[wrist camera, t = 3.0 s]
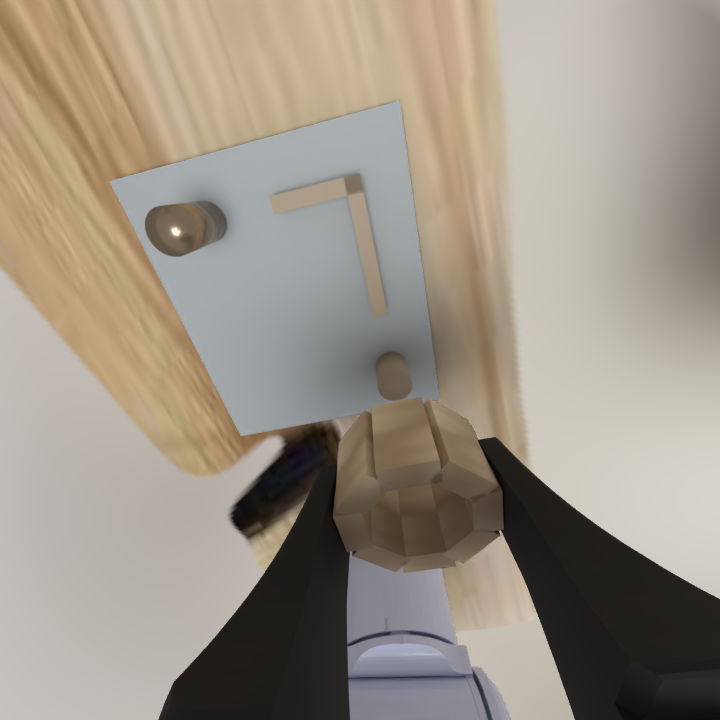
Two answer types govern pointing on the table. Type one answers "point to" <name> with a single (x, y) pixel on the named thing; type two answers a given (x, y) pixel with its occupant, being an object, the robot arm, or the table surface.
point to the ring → (415, 488)
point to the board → (301, 271)
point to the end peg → (185, 227)
